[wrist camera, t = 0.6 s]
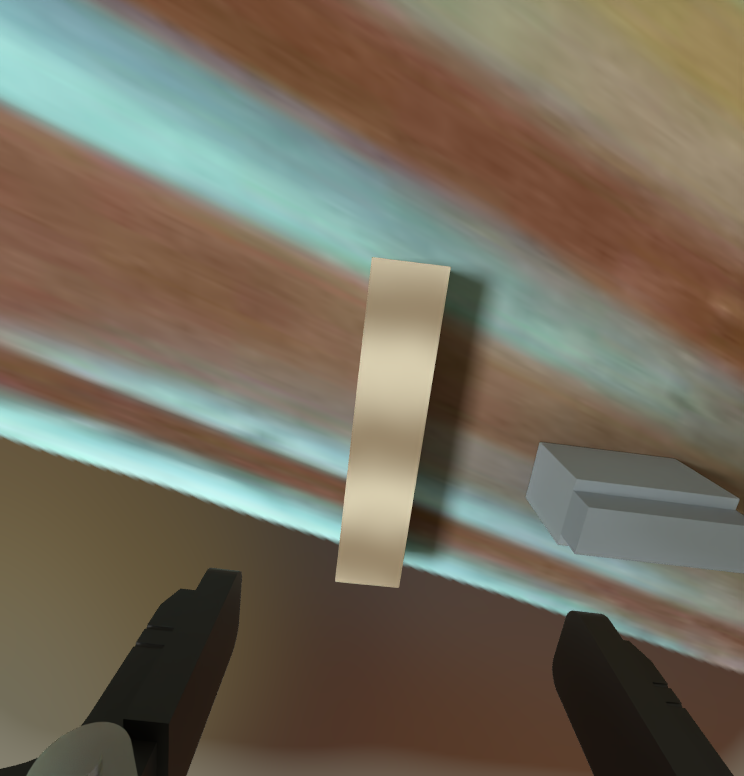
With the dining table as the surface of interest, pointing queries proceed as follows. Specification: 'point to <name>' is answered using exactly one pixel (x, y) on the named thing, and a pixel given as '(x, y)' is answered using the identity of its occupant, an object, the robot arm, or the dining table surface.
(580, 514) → the grey stepped block
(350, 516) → the bar
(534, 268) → the dining table surface
